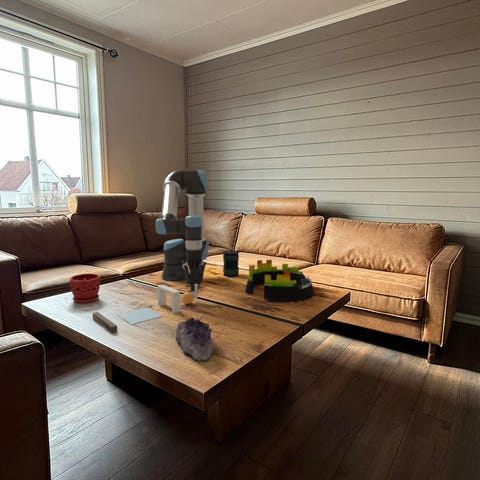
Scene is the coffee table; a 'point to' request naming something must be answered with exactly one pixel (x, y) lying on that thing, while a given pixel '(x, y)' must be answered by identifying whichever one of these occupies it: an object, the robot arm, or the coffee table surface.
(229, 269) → the storage jar
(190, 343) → the geode
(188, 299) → the ball
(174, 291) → the bridge
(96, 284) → the plant pot
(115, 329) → the wall
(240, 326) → the coffee table surface
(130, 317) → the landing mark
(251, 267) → the curved castle wall
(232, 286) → the coffee table surface
